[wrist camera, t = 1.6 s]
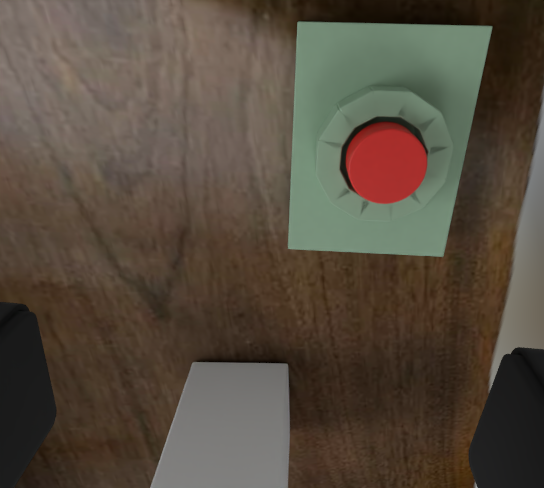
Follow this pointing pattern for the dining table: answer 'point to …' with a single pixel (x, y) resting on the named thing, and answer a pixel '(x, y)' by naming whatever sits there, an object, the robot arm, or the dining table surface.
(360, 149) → the power button
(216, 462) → the milk carton
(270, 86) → the dining table surface
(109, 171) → the dining table surface
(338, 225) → the green push button box
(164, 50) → the dining table surface
